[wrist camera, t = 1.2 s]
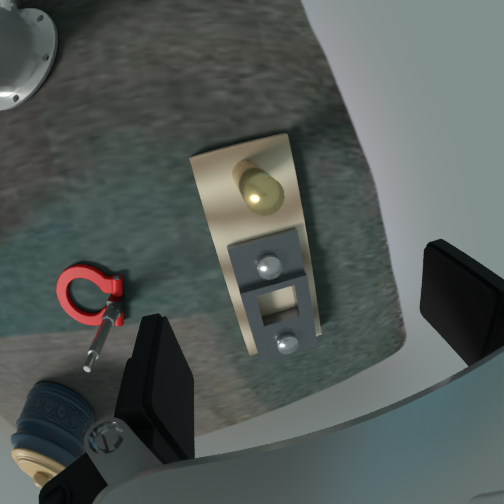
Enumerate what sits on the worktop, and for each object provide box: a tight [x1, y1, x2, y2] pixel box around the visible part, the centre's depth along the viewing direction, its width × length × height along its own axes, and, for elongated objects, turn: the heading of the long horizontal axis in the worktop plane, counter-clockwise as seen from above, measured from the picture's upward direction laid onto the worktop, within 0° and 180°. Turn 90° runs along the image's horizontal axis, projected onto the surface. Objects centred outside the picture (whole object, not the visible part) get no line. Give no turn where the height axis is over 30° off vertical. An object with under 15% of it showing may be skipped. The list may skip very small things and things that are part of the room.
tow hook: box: [56, 264, 124, 372], centre depth 29 cm, size 8×13×9 cm
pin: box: [232, 160, 285, 216], centre depth 26 cm, size 3×3×10 cm
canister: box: [11, 382, 95, 488], centre depth 34 cm, size 13×13×18 cm
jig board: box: [190, 133, 321, 355], centre depth 36 cm, size 26×10×2 cm, turn 13°
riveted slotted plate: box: [227, 227, 318, 363], centre depth 36 cm, size 16×8×3 cm, turn 13°
